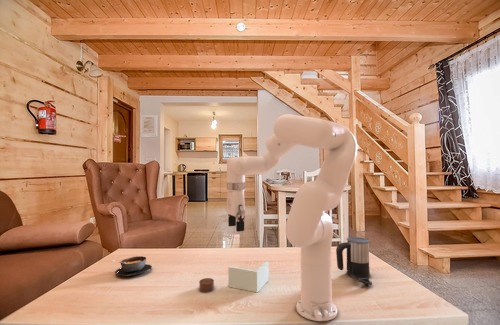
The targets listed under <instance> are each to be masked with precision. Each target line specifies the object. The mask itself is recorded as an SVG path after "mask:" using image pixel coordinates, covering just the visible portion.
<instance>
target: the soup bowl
mask: <svg viewBox="0 0 500 325" xmlns="http://www.w3.org/2000/svg"><path fill="white" fill-rule="evenodd" d="M111 261H112V262H116V263H120V266H121V267H119V268H117V269H115V271H114V273H115V275H117V276H122V277H128V278H129V277H132V276H137V275H141V274H144V273H147V272H149V271H150V270H151V269H152V268H153V266H152V265H151V264H146V263H147V257H146V256H143V255H141V256H132V257H131V256H130V257H127V258H125V259H122V260H120V261H118V260H113V259H112V260H111ZM120 268H121V269H120ZM118 271H119V272H118ZM117 272H118V273H117Z"/></svg>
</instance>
